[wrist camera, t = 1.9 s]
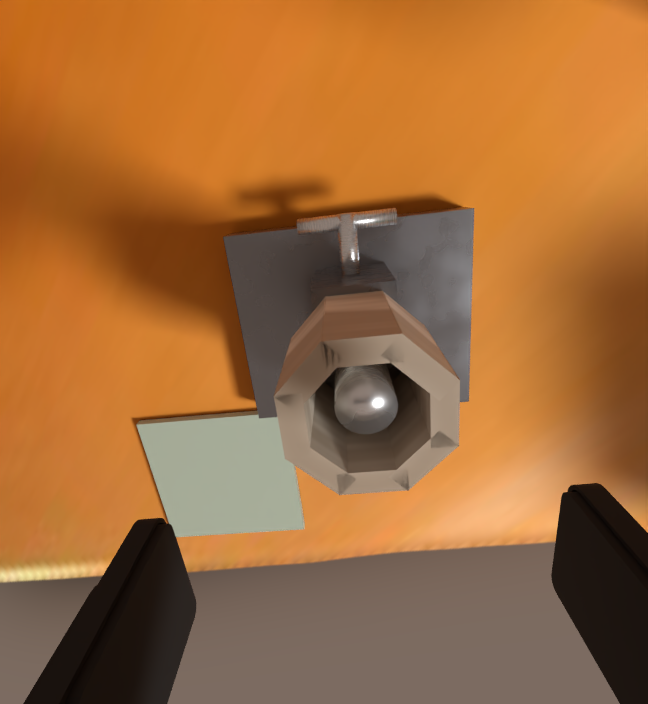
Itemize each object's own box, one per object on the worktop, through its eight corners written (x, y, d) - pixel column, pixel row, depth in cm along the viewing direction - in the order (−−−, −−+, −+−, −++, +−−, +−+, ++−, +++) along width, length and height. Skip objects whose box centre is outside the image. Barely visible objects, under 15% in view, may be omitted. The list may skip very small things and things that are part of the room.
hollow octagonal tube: (423, 286, 18) (461, 327, 13) (425, 407, 21) (458, 487, 15) (285, 300, 19) (264, 346, 13) (303, 417, 21) (291, 498, 16)
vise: (463, 196, 23) (579, 201, 12) (459, 387, 28) (541, 517, 17) (229, 223, 24) (139, 250, 13) (263, 403, 29) (219, 537, 18)
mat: (285, 408, 29) (284, 412, 28) (304, 523, 33) (304, 529, 33) (140, 420, 30) (136, 424, 29) (176, 531, 34) (173, 537, 33)
